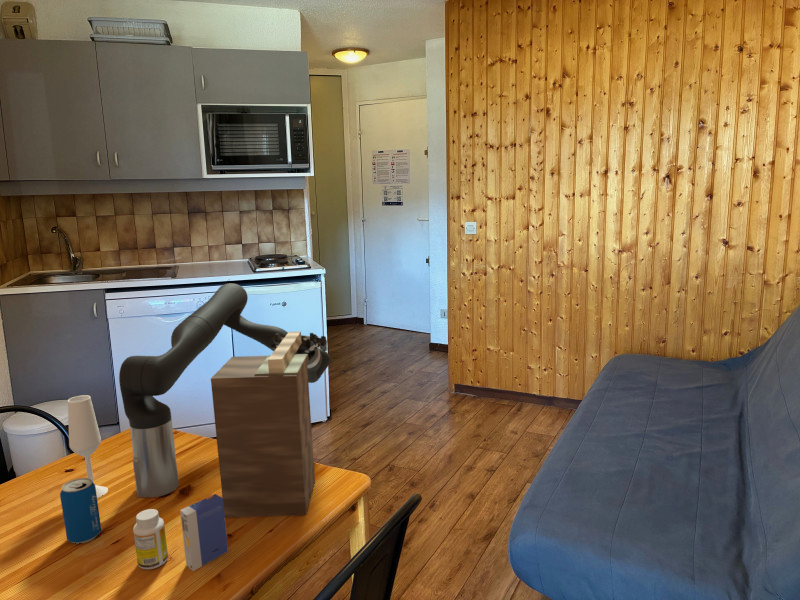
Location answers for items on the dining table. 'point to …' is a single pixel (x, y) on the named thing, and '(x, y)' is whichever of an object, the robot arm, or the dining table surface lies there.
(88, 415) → the champagne flute
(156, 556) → the supplement bottle
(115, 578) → the dining table surface
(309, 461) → the walnut stand
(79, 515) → the beverage can
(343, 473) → the dining table surface
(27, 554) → the dining table surface
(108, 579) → the dining table surface
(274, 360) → the pale wooden plank
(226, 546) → the blue cardboard box
